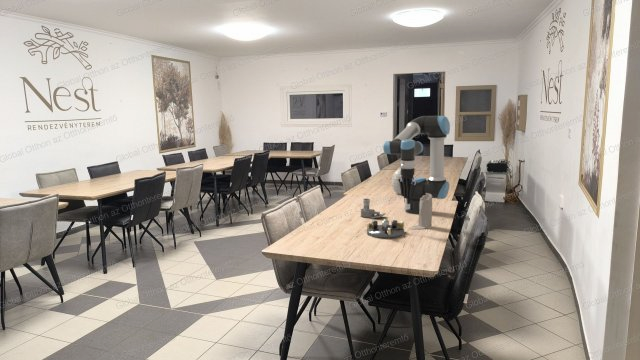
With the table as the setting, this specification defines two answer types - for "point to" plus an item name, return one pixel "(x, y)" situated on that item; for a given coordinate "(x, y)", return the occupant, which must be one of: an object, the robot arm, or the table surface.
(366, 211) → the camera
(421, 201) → the grey upright bracket
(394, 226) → the knob
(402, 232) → the level base
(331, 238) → the table surface
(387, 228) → the knob
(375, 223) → the knob
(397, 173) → the vase
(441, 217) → the table surface
